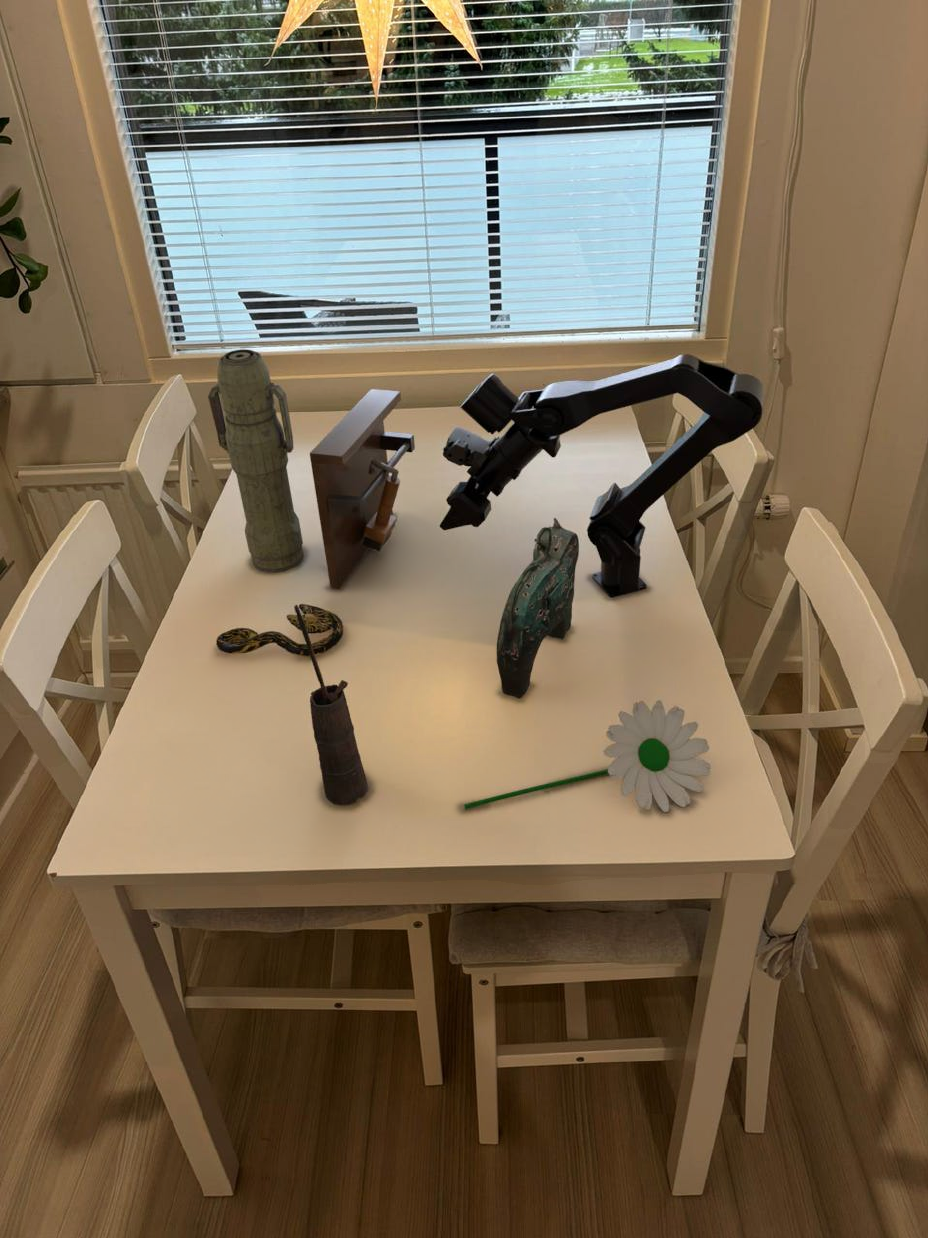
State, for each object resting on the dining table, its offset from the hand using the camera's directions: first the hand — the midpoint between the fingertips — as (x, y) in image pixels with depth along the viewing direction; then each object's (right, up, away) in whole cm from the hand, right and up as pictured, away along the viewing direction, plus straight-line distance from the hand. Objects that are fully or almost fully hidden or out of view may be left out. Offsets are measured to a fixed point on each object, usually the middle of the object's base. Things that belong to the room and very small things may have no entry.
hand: (450, 513), depth 147 cm
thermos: (-29, -7, +9) cm, 31 cm away
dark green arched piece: (+13, -22, -16) cm, 30 cm away
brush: (-14, -3, +8) cm, 16 cm away
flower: (+17, -37, -35) cm, 54 cm away
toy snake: (-25, -20, -10) cm, 33 cm away
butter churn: (-12, -37, -34) cm, 52 cm away
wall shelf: (-12, -5, +9) cm, 16 cm away
